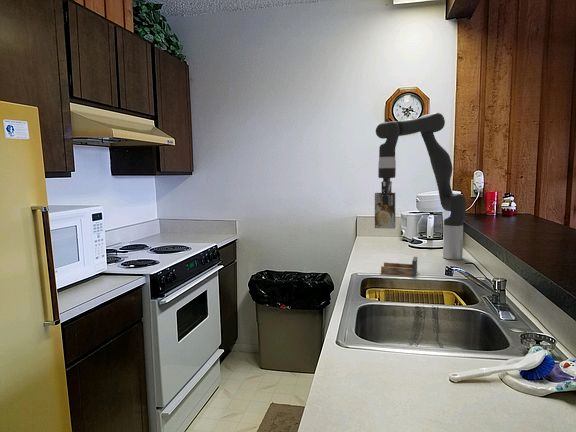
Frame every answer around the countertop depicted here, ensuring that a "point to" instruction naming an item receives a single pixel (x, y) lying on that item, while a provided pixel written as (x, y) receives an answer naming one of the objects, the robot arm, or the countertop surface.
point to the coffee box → (385, 211)
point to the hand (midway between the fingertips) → (386, 204)
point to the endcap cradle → (400, 268)
